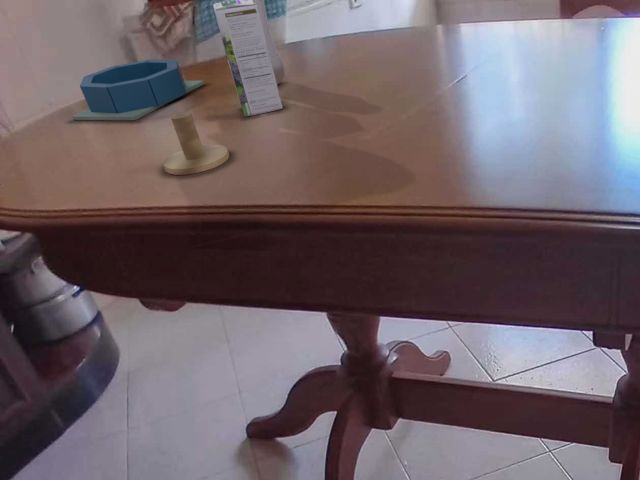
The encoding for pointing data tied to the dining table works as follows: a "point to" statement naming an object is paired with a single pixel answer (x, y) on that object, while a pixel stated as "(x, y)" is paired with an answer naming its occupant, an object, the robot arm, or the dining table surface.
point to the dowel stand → (192, 149)
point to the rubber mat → (130, 114)
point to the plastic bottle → (270, 43)
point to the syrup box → (248, 56)
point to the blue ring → (133, 86)
